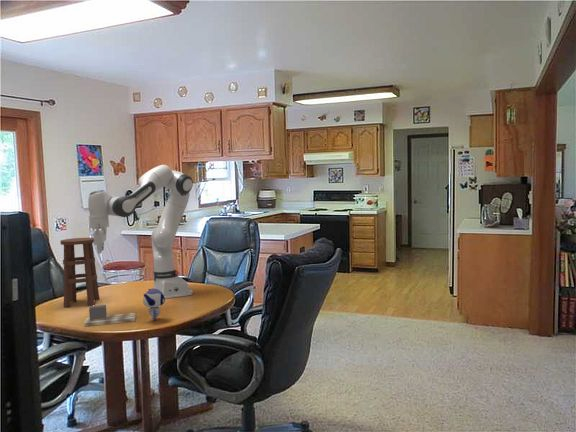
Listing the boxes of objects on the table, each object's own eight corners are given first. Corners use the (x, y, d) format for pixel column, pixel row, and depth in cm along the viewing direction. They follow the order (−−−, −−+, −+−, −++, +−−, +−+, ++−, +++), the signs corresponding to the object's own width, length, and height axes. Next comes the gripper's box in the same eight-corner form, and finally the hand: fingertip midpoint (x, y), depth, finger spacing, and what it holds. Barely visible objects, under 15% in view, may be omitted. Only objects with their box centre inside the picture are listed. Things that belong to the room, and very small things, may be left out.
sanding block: (106, 317, 226) (105, 304, 226) (106, 319, 223) (105, 306, 222) (90, 318, 224) (90, 306, 224) (89, 320, 221) (89, 308, 220)
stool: (84, 236, 272) (105, 238, 260) (88, 297, 274) (108, 301, 263) (50, 240, 256) (71, 242, 244) (55, 305, 258) (75, 310, 247)
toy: (163, 323, 219) (162, 290, 218) (141, 324, 218) (139, 291, 217) (167, 316, 229) (166, 285, 228) (146, 317, 229) (145, 286, 227)
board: (135, 315, 233) (135, 312, 233) (134, 321, 223) (134, 318, 223) (87, 320, 227) (86, 317, 227) (84, 326, 217) (83, 323, 217)
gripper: (103, 225, 225) (105, 254, 226) (107, 221, 245) (109, 248, 246) (89, 225, 223) (91, 255, 224) (94, 222, 243) (96, 249, 244)
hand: (100, 251), depth 235 cm, fingers open, 8 cm apart
